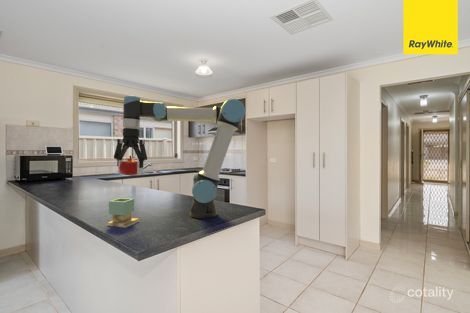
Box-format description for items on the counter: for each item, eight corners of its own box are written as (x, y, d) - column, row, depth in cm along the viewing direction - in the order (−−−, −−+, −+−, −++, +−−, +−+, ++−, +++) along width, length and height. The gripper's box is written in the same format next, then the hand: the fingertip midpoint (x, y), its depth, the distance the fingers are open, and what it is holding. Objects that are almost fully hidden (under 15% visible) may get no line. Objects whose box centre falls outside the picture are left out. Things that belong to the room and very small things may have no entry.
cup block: (134, 211, 123) (134, 198, 123) (123, 215, 115) (123, 202, 115) (120, 210, 125) (120, 198, 125) (108, 214, 117) (108, 201, 117)
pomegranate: (121, 176, 113) (121, 156, 113) (117, 173, 121) (117, 155, 121) (143, 175, 119) (143, 156, 118) (138, 173, 127) (138, 155, 126)
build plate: (138, 221, 124) (139, 210, 124) (125, 227, 114) (125, 215, 114) (121, 219, 127) (121, 209, 126) (107, 225, 117) (107, 214, 117)
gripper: (156, 129, 120) (154, 174, 121) (117, 128, 126) (115, 172, 126) (147, 128, 113) (145, 176, 114) (106, 127, 118) (104, 173, 119)
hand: (129, 174), depth 120 cm, fingers closed on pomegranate, 10 cm apart
